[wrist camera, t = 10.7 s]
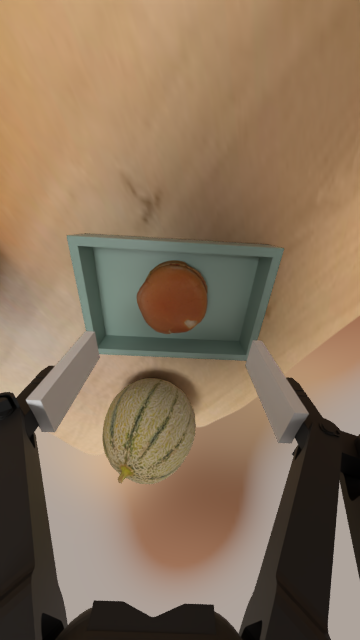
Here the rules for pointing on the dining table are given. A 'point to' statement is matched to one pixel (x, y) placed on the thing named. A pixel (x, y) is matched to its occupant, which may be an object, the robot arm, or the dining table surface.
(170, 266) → the burger
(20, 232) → the dining table surface
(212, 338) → the teal tray
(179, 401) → the cantaloupe
